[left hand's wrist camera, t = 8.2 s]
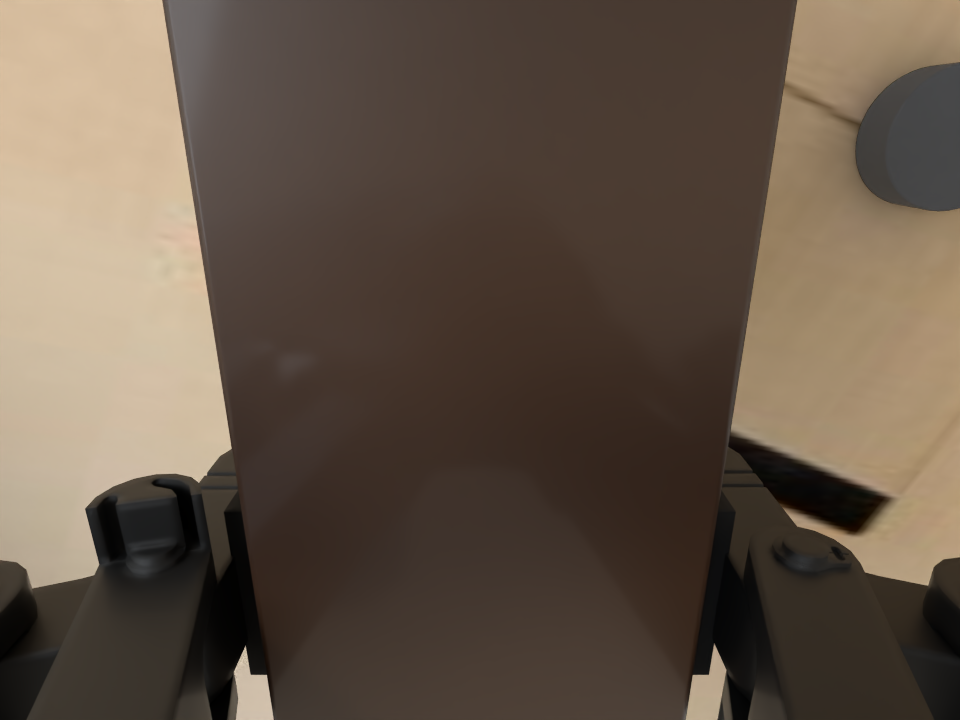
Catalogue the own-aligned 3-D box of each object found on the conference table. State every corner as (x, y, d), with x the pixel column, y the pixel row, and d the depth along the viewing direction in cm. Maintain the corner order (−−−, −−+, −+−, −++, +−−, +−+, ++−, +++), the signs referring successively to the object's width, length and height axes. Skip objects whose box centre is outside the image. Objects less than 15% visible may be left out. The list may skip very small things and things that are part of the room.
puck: (877, 228, 25) (909, 236, 23) (836, 112, 24) (867, 110, 22) (1004, 163, 24) (1048, 166, 22) (970, 37, 23) (1014, 30, 21)
